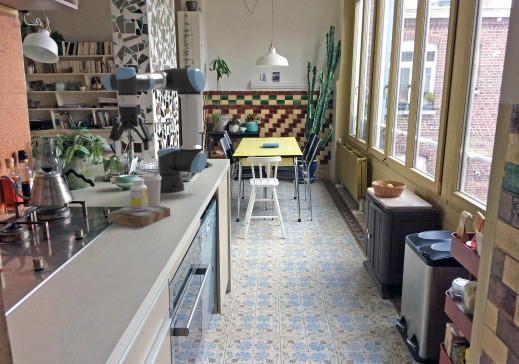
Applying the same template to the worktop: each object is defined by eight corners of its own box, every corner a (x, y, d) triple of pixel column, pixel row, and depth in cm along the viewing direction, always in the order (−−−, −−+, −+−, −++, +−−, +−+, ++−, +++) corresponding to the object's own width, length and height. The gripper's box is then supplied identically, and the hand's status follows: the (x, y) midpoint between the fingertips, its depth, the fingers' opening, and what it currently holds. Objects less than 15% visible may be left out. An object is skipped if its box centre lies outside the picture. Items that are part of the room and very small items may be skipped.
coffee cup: (157, 209, 192) (156, 177, 189) (138, 208, 194) (136, 176, 191) (166, 204, 201) (165, 173, 198) (147, 203, 203) (146, 172, 200)
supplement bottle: (143, 206, 181) (141, 177, 179) (151, 209, 176) (149, 179, 174) (128, 209, 177) (127, 179, 174) (136, 212, 172) (134, 181, 169)
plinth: (136, 211, 189) (136, 202, 188) (170, 215, 182) (170, 206, 181) (108, 221, 173) (107, 212, 172) (143, 227, 166) (143, 217, 165)
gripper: (97, 105, 174) (101, 156, 179) (147, 106, 165) (150, 160, 170) (110, 105, 181) (114, 154, 185) (159, 106, 172) (161, 157, 176)
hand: (131, 157), depth 178 cm, fingers open, 13 cm apart
